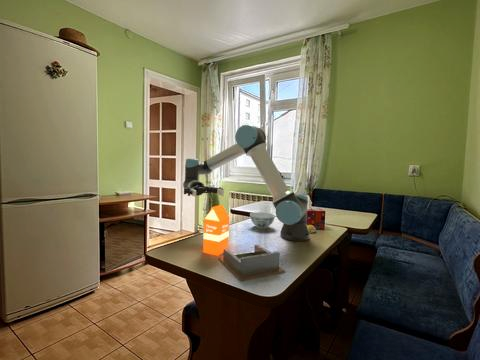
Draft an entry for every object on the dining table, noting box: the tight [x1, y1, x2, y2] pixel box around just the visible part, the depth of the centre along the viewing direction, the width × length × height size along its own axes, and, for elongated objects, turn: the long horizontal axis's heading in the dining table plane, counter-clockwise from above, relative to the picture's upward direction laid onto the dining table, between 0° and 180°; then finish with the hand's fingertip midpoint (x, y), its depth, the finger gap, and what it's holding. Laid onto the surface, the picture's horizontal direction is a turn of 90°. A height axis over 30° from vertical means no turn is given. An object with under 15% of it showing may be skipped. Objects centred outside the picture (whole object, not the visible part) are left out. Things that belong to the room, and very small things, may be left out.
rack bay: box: [217, 244, 286, 282], centre depth 96 cm, size 20×18×7 cm
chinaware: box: [249, 211, 276, 230], centre depth 152 cm, size 15×15×8 cm
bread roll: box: [307, 224, 317, 234], centre depth 148 cm, size 8×9×4 cm
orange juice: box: [202, 204, 230, 257], centre depth 109 cm, size 8×9×20 cm
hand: (209, 193), depth 117 cm, fingers open, 13 cm apart
